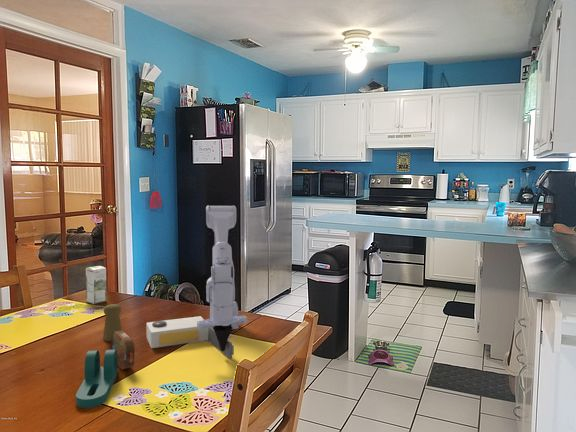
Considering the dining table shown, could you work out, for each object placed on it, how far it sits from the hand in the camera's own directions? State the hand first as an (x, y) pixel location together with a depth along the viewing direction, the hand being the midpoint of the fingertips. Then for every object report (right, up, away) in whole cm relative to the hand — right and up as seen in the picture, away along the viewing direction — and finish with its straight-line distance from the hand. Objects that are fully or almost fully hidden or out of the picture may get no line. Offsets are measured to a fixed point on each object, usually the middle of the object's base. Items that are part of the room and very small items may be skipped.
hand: (222, 349), depth 134 cm
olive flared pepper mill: (-38, -1, +15) cm, 41 cm away
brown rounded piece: (-28, -3, -5) cm, 28 cm away
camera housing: (-17, -1, +14) cm, 22 cm away
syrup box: (-60, +4, +55) cm, 82 cm away
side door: (-2, -2, +6) cm, 7 cm away
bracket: (-28, -4, -20) cm, 35 cm away
